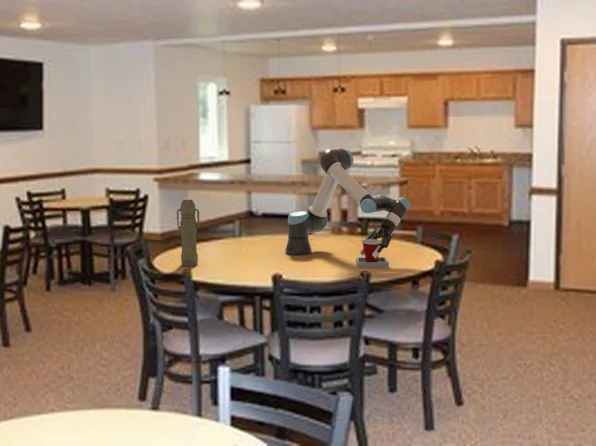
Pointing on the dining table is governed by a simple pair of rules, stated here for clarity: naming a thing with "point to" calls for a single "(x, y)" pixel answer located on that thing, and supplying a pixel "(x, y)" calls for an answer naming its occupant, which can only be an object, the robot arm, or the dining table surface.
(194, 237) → the thermos
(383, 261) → the tray
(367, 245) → the plastic cup
